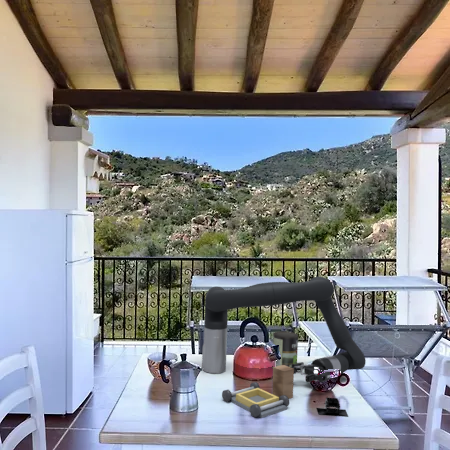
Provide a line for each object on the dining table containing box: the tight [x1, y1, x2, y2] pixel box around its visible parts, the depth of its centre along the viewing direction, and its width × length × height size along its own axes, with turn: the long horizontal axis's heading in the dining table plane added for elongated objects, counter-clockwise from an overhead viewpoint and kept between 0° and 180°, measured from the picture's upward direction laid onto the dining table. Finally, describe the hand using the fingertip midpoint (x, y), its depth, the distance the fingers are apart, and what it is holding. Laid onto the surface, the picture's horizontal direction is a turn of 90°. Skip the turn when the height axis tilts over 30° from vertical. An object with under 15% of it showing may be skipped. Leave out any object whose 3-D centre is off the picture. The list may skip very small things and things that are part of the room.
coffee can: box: [272, 330, 299, 368], centre depth 181 cm, size 10×10×14 cm
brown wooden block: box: [271, 365, 295, 400], centre depth 151 cm, size 5×5×10 cm
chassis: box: [221, 381, 290, 419], centre depth 144 cm, size 18×14×4 cm
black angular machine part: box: [316, 397, 349, 418], centre depth 140 cm, size 12×7×5 cm, turn 85°
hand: (297, 375), depth 155 cm, fingers open, 8 cm apart
